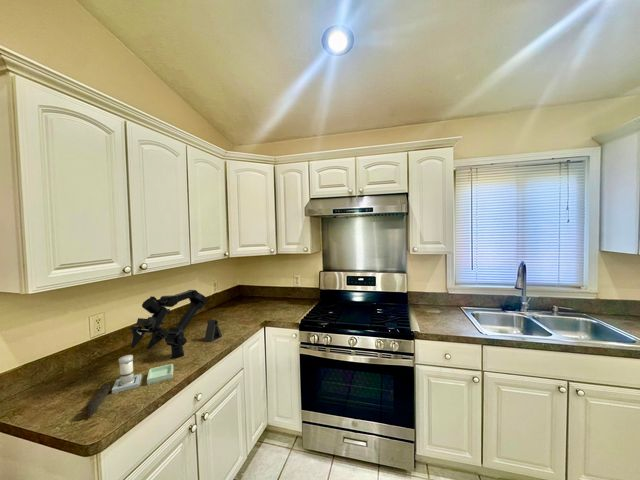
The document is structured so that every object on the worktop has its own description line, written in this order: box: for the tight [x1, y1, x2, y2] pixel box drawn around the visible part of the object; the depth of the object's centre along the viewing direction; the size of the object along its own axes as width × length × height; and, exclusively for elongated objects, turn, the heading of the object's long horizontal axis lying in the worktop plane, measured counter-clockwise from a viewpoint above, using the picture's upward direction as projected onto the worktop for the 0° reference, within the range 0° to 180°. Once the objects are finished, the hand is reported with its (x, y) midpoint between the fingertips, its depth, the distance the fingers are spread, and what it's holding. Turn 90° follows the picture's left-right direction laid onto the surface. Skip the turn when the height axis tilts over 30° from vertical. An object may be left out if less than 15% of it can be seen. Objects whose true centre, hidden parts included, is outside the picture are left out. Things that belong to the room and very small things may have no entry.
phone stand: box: [204, 318, 223, 342], centre depth 173 cm, size 9×6×12 cm, turn 153°
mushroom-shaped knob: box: [118, 354, 136, 387], centre depth 123 cm, size 5×5×12 cm
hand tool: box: [86, 383, 113, 419], centre depth 109 cm, size 19×4×5 cm, turn 19°
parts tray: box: [146, 363, 174, 386], centre depth 129 cm, size 11×10×2 cm
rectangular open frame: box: [111, 373, 143, 394], centre depth 123 cm, size 10×10×2 cm
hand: (139, 348), depth 129 cm, fingers open, 9 cm apart
